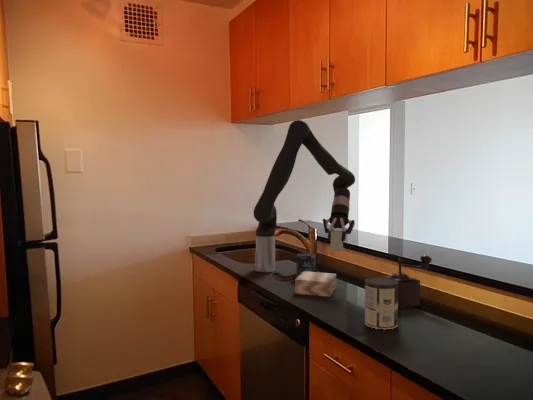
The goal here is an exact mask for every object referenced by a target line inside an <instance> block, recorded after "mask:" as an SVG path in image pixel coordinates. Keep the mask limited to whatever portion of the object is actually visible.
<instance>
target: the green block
mask: <svg viewBox="0 0 533 400" xmlns="http://www.w3.org/2000/svg"><path fill="white" fill-rule="evenodd" d="M342 232H343V231H342V230H340V229H339V230H337V229H335V230H332V231H331V241H330V252H342V251H343V250H344V241H343V242H342V240H341V238H342Z"/></svg>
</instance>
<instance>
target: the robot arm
mask: <svg viewBox="0 0 533 400" xmlns="http://www.w3.org/2000/svg"><path fill="white" fill-rule="evenodd" d="M302 145H303V146H304V147H305V148H306V149H307V151H309V153H310V154H311V156H312V157H313V158H314V160H315V161H316V162H317V164H318V165H319V166H320V167H321V169H323V171H324V172H325V173H326V174H327V175H328V176H332V175H334V174H335V175H338V176H336V177H335V178H334V180H333V182H332V189H333V193H334V194H333V199H332V200H333V201H332V204H331V210H330V211H331V212H330V217H329V218H328V219H326V218H323V219H322V224H323V228H324V233H325V234H327V239H328V241H329V242H331V231H332V230H336V229H339V230H340V229H341V231H343V232H342V238H341V240H342V242H343V243H344V242H345V241H346V235H351V233H352V231H353V229H354V227H355V225H356V222H355V220H354V219H352V220H351V219H350V218H349V213H350V200H351V192H350V190H349V189H348V188H350V187H351V186H352V185H354V184H355V182H356V177H355V174H353V172H352V171H351V170H349V169H348V168H346V167H345V166H343V165H342V164H340V163H339V162H338V161H337V160H336V159H335V158H334V157H333V155H332V154H331V153H330V152H329V151H328V150H327V149H326V148H325V146H323V144H321V142H320V141H319V140H318V139H317V137H316V136H315V135H314V133H313V132H312V130H311V129H310V126H309V124H308V123H307V122H306V120H305V121H304V120H303V119H296V120H293V121H292V122H291V123H290V124H289V126H288V129H287V134H286V137H285V139H284V142H283V145H282V148H281V150H280V152H279V153H278V155H277V157H276V159H275V160H274V161H275V162H274V164H273V166H272V168H271V170H270V173H269V176H268V178H267V181H266V182H265V186H264V188H263V191H262V194H260V197H259V199H258V200H257V202H256V204H255V206H254V208H253V217H254V220H256V221H257V222H258V225H257V228H256V230H255V251H254V259H255V260H254V264H255V266H254V267H255V268H254V271H255V272H258V273H272V272H274V271H276V230H277V217H278V215H277V209H276V208H277V207H276V206H275V203H276V200H277V198H278V196H279V195H280V194H281V192H283V189H284V188H285V187H286V185H287V184H288V181H289V180H290V177H291V176H292V172H293V170H294V169H295V168H294V167H295V163H296V161H297V156H298V152H299V150H300V148H301V146H302ZM329 224H330V225H329ZM328 225H329V228H328ZM347 225H348V227H347V229H346V226H347Z"/></svg>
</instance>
